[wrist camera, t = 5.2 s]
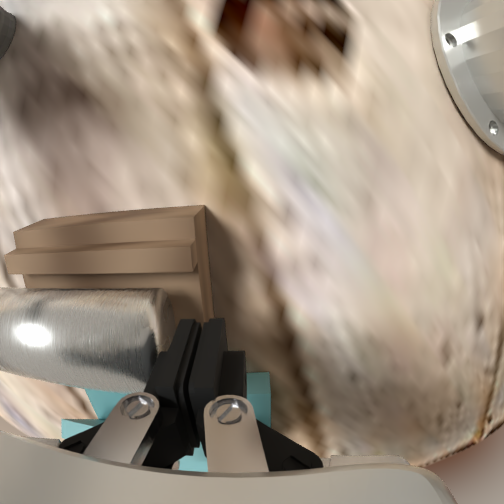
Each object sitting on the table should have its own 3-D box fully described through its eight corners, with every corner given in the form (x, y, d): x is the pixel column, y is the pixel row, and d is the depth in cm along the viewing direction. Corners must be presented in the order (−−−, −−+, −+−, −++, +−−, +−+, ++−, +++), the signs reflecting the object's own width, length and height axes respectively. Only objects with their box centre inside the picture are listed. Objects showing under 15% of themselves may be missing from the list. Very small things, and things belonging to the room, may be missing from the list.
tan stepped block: (204, 205, 15) (188, 223, 11) (218, 356, 18) (211, 404, 14) (43, 219, 15) (0, 237, 11) (76, 349, 18) (49, 385, 14)
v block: (269, 372, 18) (274, 451, 12) (269, 461, 21) (272, 523, 16) (93, 365, 18) (55, 427, 13) (132, 453, 22) (114, 507, 16)
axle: (166, 270, 13) (132, 323, 9) (181, 354, 14) (161, 419, 10) (-13, 275, 13) (-60, 306, 9) (9, 339, 15) (-28, 377, 10)
